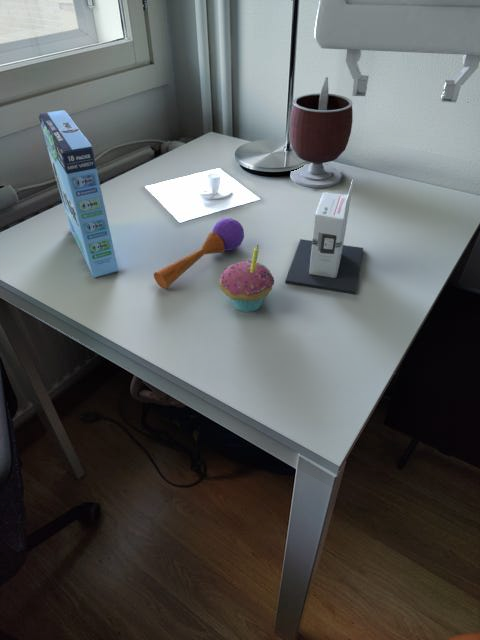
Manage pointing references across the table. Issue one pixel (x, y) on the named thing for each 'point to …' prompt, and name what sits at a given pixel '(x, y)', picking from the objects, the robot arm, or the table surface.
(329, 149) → the mate gourd
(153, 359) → the table surface
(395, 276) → the table surface
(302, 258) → the slate mat
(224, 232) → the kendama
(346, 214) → the ink box
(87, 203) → the gum box
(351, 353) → the table surface
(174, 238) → the table surface
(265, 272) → the cupcake
